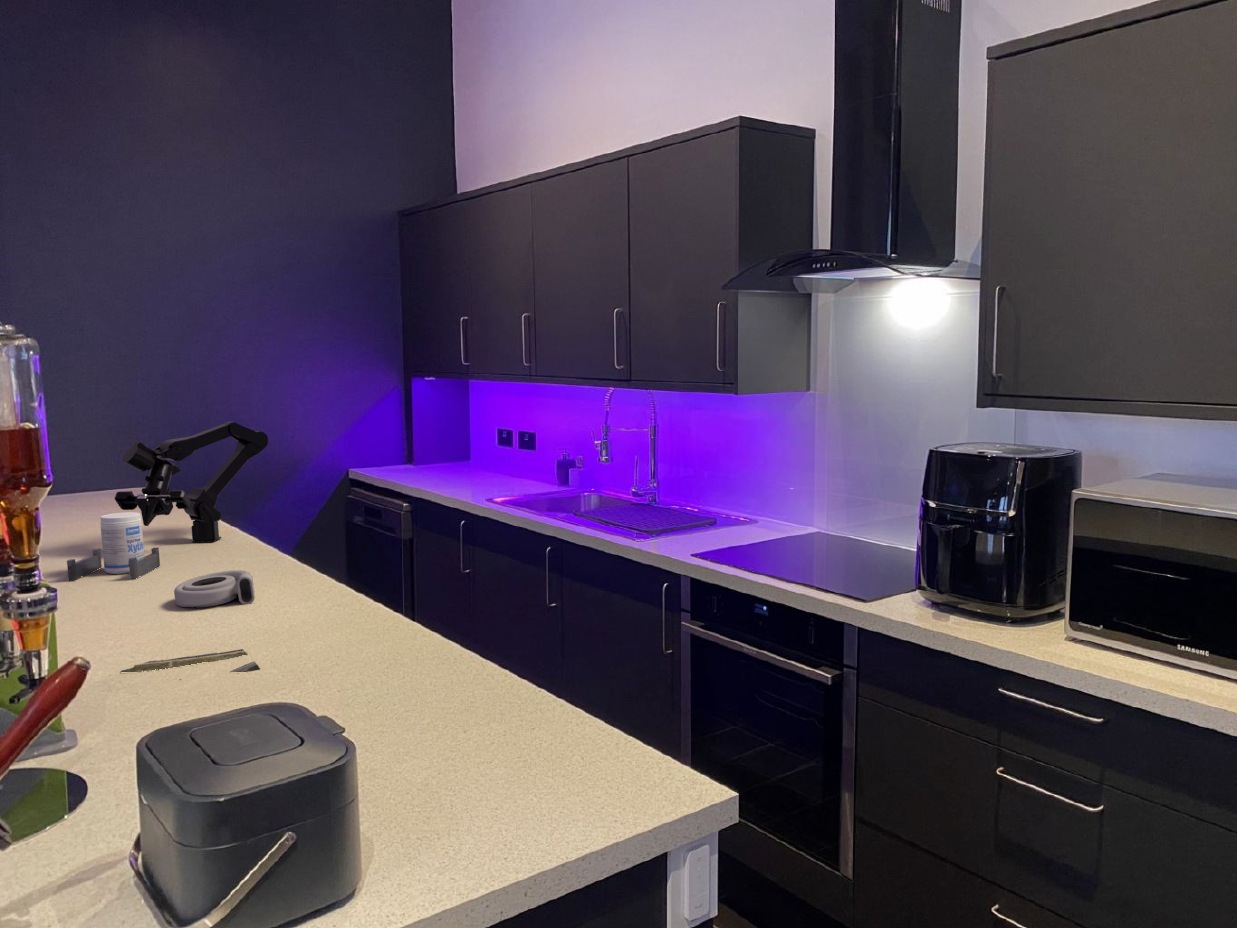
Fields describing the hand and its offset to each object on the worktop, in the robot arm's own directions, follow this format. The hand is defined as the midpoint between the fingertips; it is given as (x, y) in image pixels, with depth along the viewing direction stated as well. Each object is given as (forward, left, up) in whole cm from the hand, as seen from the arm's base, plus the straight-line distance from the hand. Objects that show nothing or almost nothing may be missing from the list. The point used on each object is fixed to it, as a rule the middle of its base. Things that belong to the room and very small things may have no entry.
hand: (145, 525), depth 270 cm
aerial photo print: (-51, +99, -10) cm, 112 cm away
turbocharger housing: (-37, +48, -9) cm, 62 cm away
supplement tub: (-1, +16, -9) cm, 18 cm away
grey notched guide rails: (-1, +19, -9) cm, 21 cm away
